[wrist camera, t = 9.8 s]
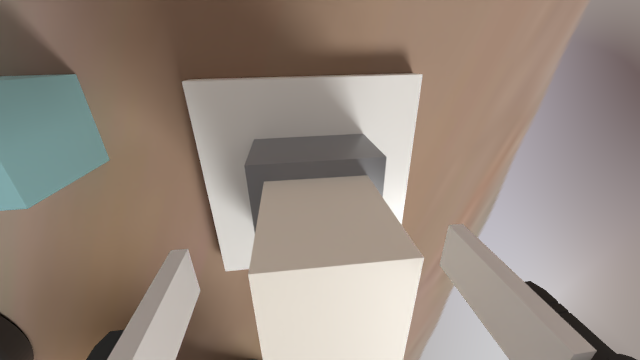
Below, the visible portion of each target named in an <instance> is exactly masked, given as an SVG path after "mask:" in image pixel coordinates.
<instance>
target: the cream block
mask: <svg viewBox="0 0 640 360" xmlns="http://www.w3.org/2000/svg"><path fill="white" fill-rule="evenodd" d="M423 260H424V257H423V255H422V254H421V252H420V251H419V250H418V248H417V247H416V245H415V244H414V242H413V241H412V239H411V238H410V236H409V235H408V234H407V232H406V231H405V229H404V228H403V226H402V225H401V223H400V222H399V220H398V219H397V218H396V216H395V215H394V213H393V212H392V210H391V209H390V207H389V206H388V204H387V203H386V202H385V200H384V199H383V197H382V196H381V194H380V193H379V191H378V190H377V188H376V187H375V186H374V184H373V183H372V181H371V180H370V178H369V177H368V175H364V176H347V177H331V178H314V179H298V180H281V181H265V182H264V184H263V190H262V196H261V202H260V207H259V213H258V219H257V225H256V231H255V237H254V243H253V249H252V255H251V261H250V267H249V273H248V276H249V282H250V288H251V294H252V299H253V305H254V311H255V317H256V323H257V329H258V334H259V340H260V346H261V352H262V358H263V360H403V357H404V352H405V347H406V343H407V338H408V333H409V328H410V323H411V318H412V314H413V309H414V304H415V299H416V294H417V289H418V284H419V280H420V275H421V270H422V265H423Z"/></svg>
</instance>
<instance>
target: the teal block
mask: <svg viewBox="0 0 640 360" xmlns="http://www.w3.org/2000/svg"><path fill="white" fill-rule="evenodd" d="M107 161H109V157H108V155H107V152H106V150H105V147H104V145H103V142H102V139H101V137H100V134H99V132H98V129H97V127H96V124H95V122H94V119H93V117H92V114H91V111H90V109H89V106H88V104H87V101H86V99H85V96H84V94H83V91H82V89H81V86H80V83H79V81H78V78H77V76H76V74H62V75H26V76H0V211H3V210H16V209H28V208H30V207H32V206H33V205H35V204H37V203H38V202H40V201H42V200H43V199H45V198H47V197H48V196H50V195H52V194H53V193H55V192H57V191H59V190H60V189H62V188H64V187H65V186H67V185H69V184H70V183H72V182H74V181H75V180H77V179H79V178H80V177H82V176H84V175H85V174H87V173H89V172H91V171H92V170H94V169H96V168H97V167H99V166H101V165H102V164H104V163H106V162H107Z"/></svg>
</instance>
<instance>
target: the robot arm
mask: <svg viewBox="0 0 640 360" xmlns="http://www.w3.org/2000/svg"><path fill="white" fill-rule="evenodd" d="M440 266H441V268H442V269H443V270H444V272H445V273H446V275H447V276H448V277H449V279H450V280H451V281H452V283H453V284H454V285H455V287H456V288H457V289H458V291H459V292H460V293H461V295H462V296H463V297H464V299H465V300H466V302H467V303H468V304H469V306H470V307H471V308H472V309H473V311H474V312H475V314H476V315H477V316H478V318H479V319H480V320H481V322H482V323H483V325H484V326H485V327H486V329H487V330H488V331H489V333H490V334H491V335H492V337H493V338H494V339H495V340H496V342H497V343H498V345H499V346H500V347H501V349H502V350H503V352H504V353H505V354H506V355H507V357H508V358H509V360H636V359H634V358H632V357H629V356H626V355H623V354H616V353H615V352H614V351H613V350H611V349H610V348H609V347H608V346H607V345H606V344H605V343H603V342H602V341H601V340H600V339H599V338H598V337H597V336H596V335H595V334H593V333H592V332H591V331H590V330H589V329H588V328H587V327H586V326H585V325H583V324H582V323H581V322H580V321H579V320H578V319H577V318H576V317H574V316H573V315H572V314H571V313H569V312H568V310H567V309H566V308H564V307H563V306H562V305H561V304H559V303H558V301H557V300H556V299H555V298H553V297H552V296H551V295H550V294H549V293H548V292H547V291H546V290H544V289H543V288H541V287H539V286H537V285H536V284H534V283H532V282H531V281H528V282H524V281H522V279H520V278H519V277H518V276H517V275H516V274H515V273H514V272H513V271H512V270H511V269H510V268H509V267H508V266H507V265H505V263H504V262H502V261H501V260H500V259H499V258H498V257H497V256H496V255H495V254H494V253H493V252H492V251H491V250H490V249H489V248H488V247H486V245H484V244H483V243H482V242H481V241H480V240H479V239H478V238H477V237H476V236H475V235H474V234H473V233H472V232H471V231H470V230H469V229H468V228H467V227H465V226H464V225H463V224H455V225H449V227H448V231H447V235H446V240H445V244H444V248H443V252H442V257H441V261H440ZM199 293H200V288H199V285H198V281H197V278H196V275H195V271H194V268H193V264H192V261H191V258H190V254H189V251H188V249H180V250H171V251H170V253H169V254H168V256H167V258H166V260H165V261H164V263H163V265H162V266H161V268H160V270H159V272H158V273H157V275H156V277H155V278H154V280H153V282H152V284H151V285H150V287H149V289H148V290H147V292H146V294H145V295H144V297H143V299H142V301H141V302H140V304H139V306H138V307H137V309H136V311H135V313H134V314H133V316H132V318H131V319H130V321H129V323H128V325H127V326H126V328H125V330H119V331H110V332H109V333H108V334H107V335H106V336H105V337H104V338H103V339H102V340H101V341H100V342H99V343H98V344H97V345H96V346H95V347H94V349H93V350H92V352H91V353H90V355H89V356H88V358H87V359H86V360H176V357H177V354H178V352H179V349H180V346H181V343H182V340H183V338H184V335H185V332H186V329H187V327H188V324H189V321H190V318H191V315H192V313H193V310H194V307H195V304H196V301H197V299H198V296H199ZM0 360H33V350H32V347H31V345H30V343H29V341H28V340H27V338H26V337H25V336H24V334H23V333H22V332H21V331H20V330H19V329H18V328H17V327H16V326H14V325H13V324H12V323H10V322H9V321H8V320H6V319H5V318H3V317H1V316H0Z"/></svg>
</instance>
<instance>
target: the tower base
mask: <svg viewBox="0 0 640 360" xmlns="http://www.w3.org/2000/svg"><path fill="white" fill-rule="evenodd" d="M422 75H423V74H416V73H400V74H364V75H328V76H293V77H257V78H221V79H189V80H185V81H182V84H183V89H184V93H185V97H186V102H187V106H188V110H189V115H190V119H191V123H192V128H193V132H194V136H195V141H196V145H197V149H198V154H199V158H200V163H201V167H202V171H203V176H204V180H205V184H206V189H207V193H208V197H209V202H210V206H211V210H212V215H213V219H214V223H215V228H216V232H217V236H218V241H219V245H220V249H221V254H222V258H223V262H224V267H225V271H233V270H243V269H249V267H250V261H251V255H252V249H253V243H254V237H255V231H256V225H257V219H258V213H259V207H260V202H261V196H262V190H263V184H264V182H265V181H281V180H298V179H314V178H331V177H347V176H364V175H368V177H369V178H370V180H371V181H372V183H373V184H374V186H375V187H376V188H377V190H378V191H379V193H380V194H381V196H382V197H383V199H384V200H385V202H386V203H387V204H388V206H389V207H390V209H391V210H392V212H393V213H394V215H395V216H396V218H397V219H398V220H399V222H400V223H401V225H402V218H403V211H404V204H405V197H406V189H407V182H408V175H409V168H410V161H411V154H412V147H413V139H414V132H415V125H416V118H417V111H418V104H419V97H420V89H421V82H422Z"/></svg>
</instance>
